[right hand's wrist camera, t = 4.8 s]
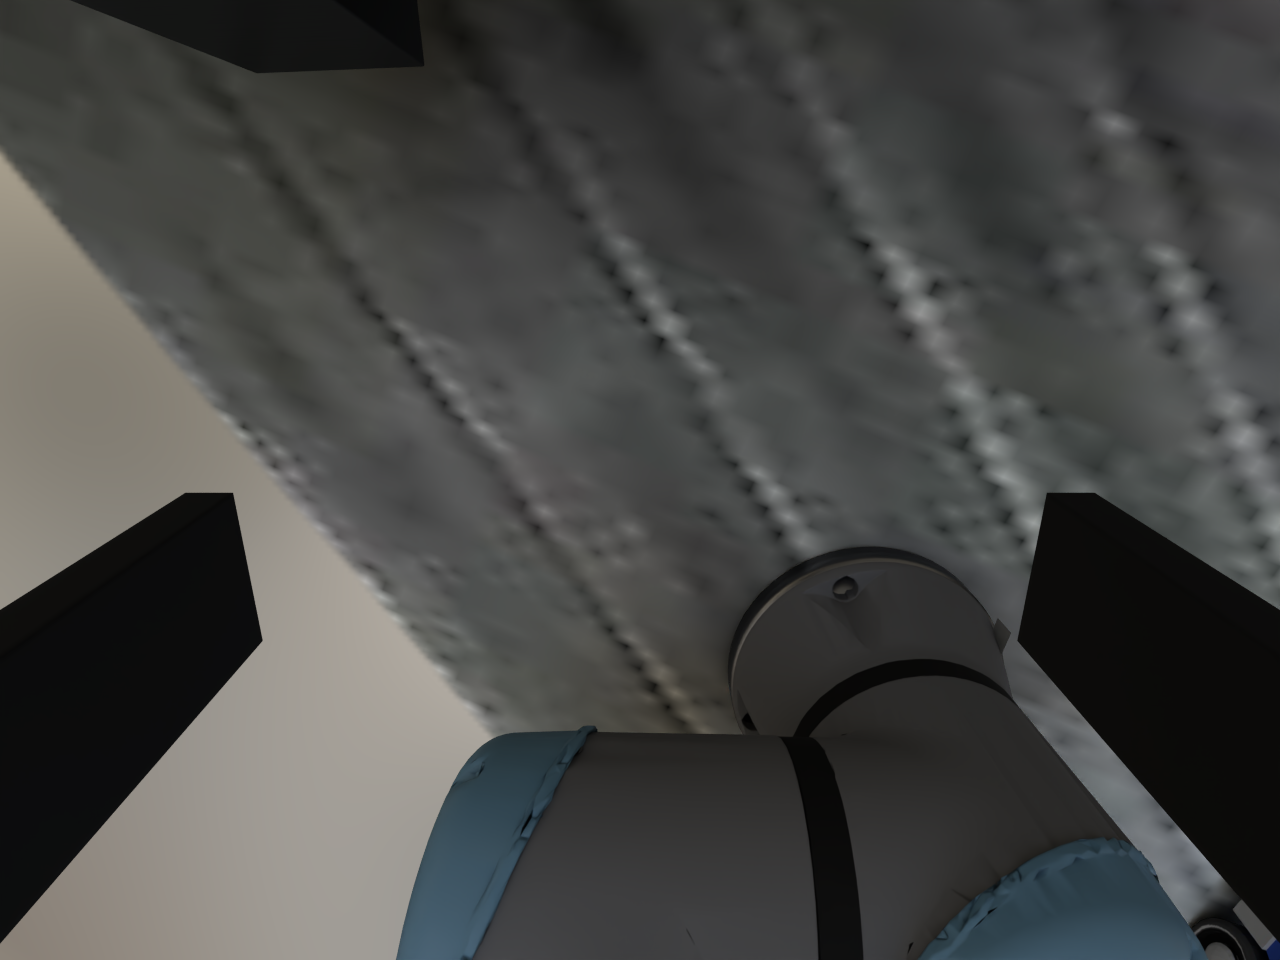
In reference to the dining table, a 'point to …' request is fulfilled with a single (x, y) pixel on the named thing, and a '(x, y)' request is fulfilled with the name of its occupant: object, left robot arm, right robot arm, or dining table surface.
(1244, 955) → the toy car
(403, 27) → the box
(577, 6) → the dining table surface
